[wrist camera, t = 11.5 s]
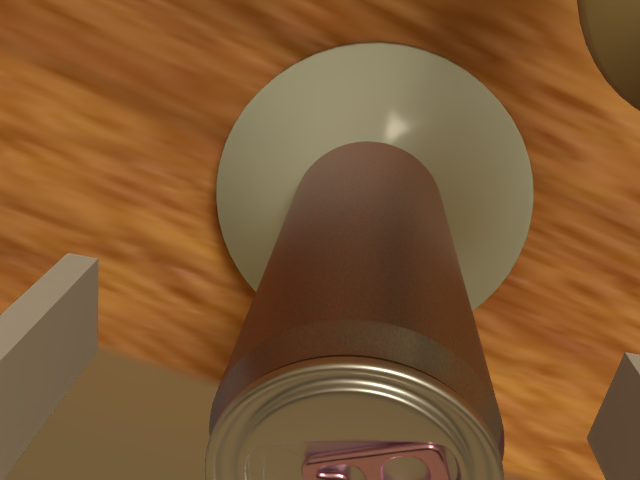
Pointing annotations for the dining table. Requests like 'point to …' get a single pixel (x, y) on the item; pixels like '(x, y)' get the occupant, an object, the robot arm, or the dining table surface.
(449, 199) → the dish
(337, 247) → the beverage can
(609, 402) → the robot arm
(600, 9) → the balance
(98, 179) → the dining table surface
